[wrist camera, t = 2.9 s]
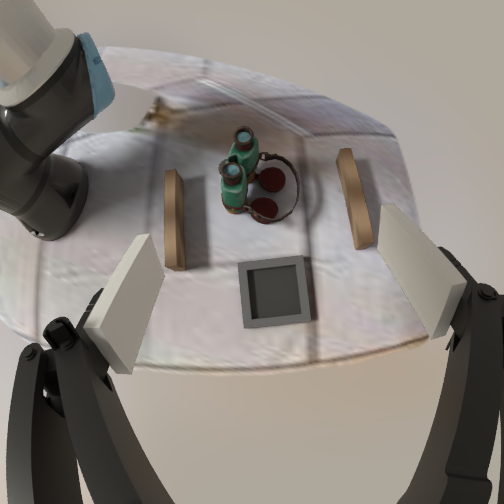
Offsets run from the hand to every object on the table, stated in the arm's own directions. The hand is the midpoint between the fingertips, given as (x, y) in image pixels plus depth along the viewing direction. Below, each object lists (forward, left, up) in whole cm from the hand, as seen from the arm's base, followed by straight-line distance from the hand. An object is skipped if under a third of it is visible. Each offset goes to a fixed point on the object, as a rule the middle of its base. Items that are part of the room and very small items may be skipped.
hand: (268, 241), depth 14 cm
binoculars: (+6, +11, -22) cm, 25 cm away
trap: (0, -1, -21) cm, 21 cm away
